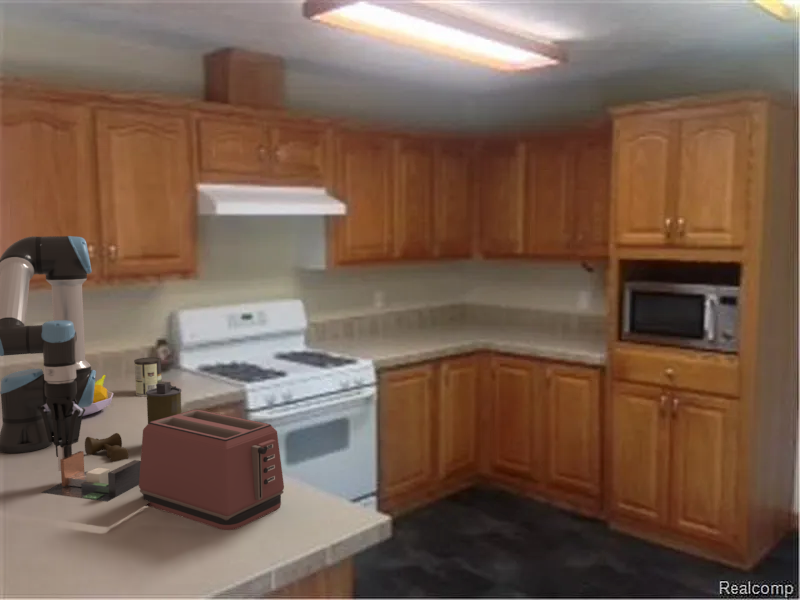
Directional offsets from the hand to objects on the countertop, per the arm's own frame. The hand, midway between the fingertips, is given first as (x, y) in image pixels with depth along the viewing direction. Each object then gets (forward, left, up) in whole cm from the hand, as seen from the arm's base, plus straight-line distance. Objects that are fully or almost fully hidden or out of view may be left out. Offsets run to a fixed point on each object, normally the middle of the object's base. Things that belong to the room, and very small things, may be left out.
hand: (64, 469), depth 185 cm
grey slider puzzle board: (+10, 0, -5) cm, 11 cm away
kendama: (-6, +24, -5) cm, 25 cm away
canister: (+4, +38, -5) cm, 38 cm away
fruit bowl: (-50, +61, -5) cm, 79 cm away
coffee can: (-44, +94, -5) cm, 104 cm away
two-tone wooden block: (+5, 0, -3) cm, 6 cm away
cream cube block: (+10, 0, -3) cm, 11 cm away
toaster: (+44, +1, -5) cm, 44 cm away
